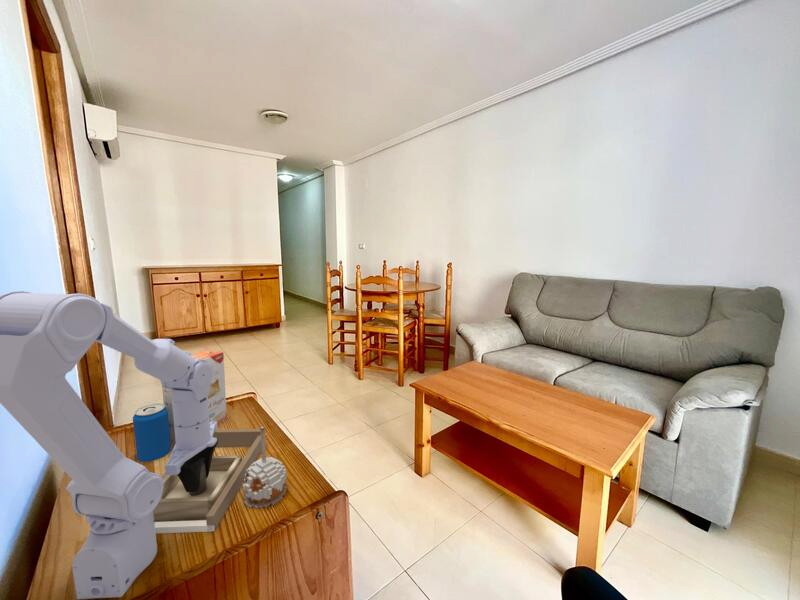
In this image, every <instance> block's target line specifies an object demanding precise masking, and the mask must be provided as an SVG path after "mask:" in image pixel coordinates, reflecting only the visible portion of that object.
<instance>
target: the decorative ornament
mask: <svg viewBox="0 0 800 600" xmlns="http://www.w3.org/2000/svg"><path fill="white" fill-rule="evenodd" d="M259 429H260V432H261V452H260V453H261V458H259V459H256V461H255V462H253V464H251V466H250V467H249V468H247V470H246V474H245V479H244V481H243V483H242V491H243V492H244V496H243V499H244V500H245V501H243V503H244V505H246V506H247V507H249V508H250V509H251V508H252V507H253V508H255V509H259V508H260V509H263V508H267V507H268V506H270V505H271V506H274V505H276V504H277V503H278V502H280V501H281V500H283V496H285V495H286V494H287V493H286V492H287V489H288V488H287V486H286V485H287V480H288V479H287V469H286V466H285V465H283V462H282V461H280V460H279V459H277V458H274V457H273V456H269V457H267V452H266V449H267V447H266V428H265V426H261V427H260V428H259Z"/></svg>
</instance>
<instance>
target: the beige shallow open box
mask: <svg viewBox="0 0 800 600" xmlns="http://www.w3.org/2000/svg"><path fill="white" fill-rule="evenodd" d="M242 460H243V455H241V454H240V455H213V456H212V460H211V465H210V471H209V475H208V477H207V479H206V471H205V463H204V462H203V464H202V467H201V472H200V486H199V489H198V491H197V492H186V490H185V488H184V486H183V484H182V482H181V480H180V478H179V477H178V476H177V475H167V476H166V477H165V478H164V479H163V482H164V488H163V494H162V497H161V499H160V501H159V503H158V505H157V506H156V507H155V509H154V510H153V514H154V521H172V520H173V521H177V520H178V521H179V520H206V516H207V514H208V512H209V511H210V509H211V508H212V506H213V505H214V503H215V502H216V500H217V499H218V497H219V495H220V494H221V492H222V491H223V489H224V488H225V486H226V485H227V483H228V481H229V480H230V478H231V477H232V475H233V474H234V472H235V471H236V469H237V468H238V466H239V464H240V463H241V461H242Z"/></svg>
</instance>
